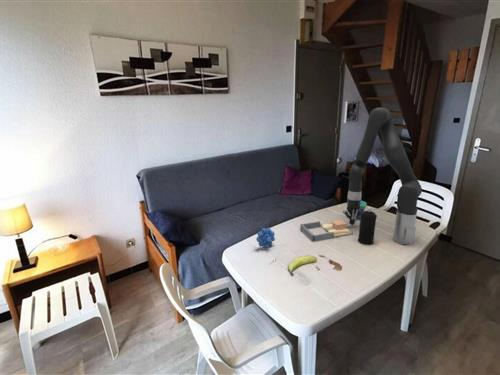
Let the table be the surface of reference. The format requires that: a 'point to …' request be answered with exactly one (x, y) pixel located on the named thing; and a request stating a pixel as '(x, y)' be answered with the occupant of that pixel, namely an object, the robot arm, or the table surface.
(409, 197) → the robot arm
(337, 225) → the peach rectangular block
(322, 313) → the table surface
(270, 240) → the blue knobby ball
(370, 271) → the table surface
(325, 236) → the box
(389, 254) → the table surface
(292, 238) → the table surface
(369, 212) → the aerosol can
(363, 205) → the snack cup
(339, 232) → the beige wooden board
